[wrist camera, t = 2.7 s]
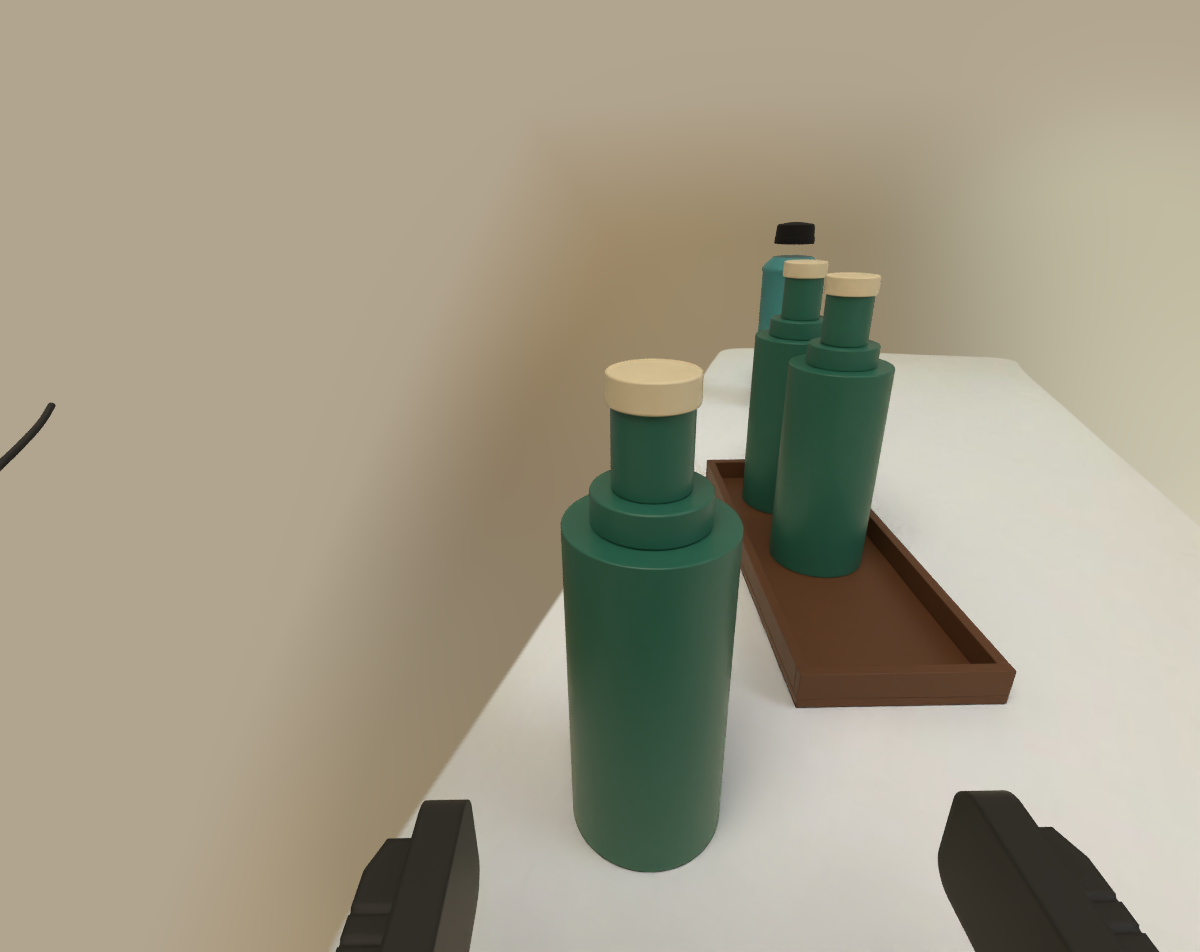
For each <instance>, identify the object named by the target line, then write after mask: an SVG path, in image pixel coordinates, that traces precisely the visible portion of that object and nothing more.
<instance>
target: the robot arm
mask: <svg viewBox="0 0 1200 952" xmlns="http://www.w3.org/2000/svg"><path fill="white" fill-rule="evenodd" d="M54 408H55V404H54V403H49V404H48V405H47V407H46V409H45V411H44V412H43V414H42V415H41V417H40V418H39V420H38V421H37V422H36V423H35V425H34V426H33V427H32V428H31V429H30V430H29V431H28V433H26V434H25V435H24V436H23V437H22V438H21V439H20V440H19V441H18V442H17V443H16V445H14V446H13V447H12V448H11V449H10V450H9V451H8V452H7V453H6V454H5V455H4V456H3V457H1V458H0V471H1V470H2V469H3V468H4V467H5V466H6V465H7V464H8V463H9V462H10V461H11V460H12V459H13V458H14V457H15V456H16V455H17V454H18V453H19V452H20V451H21V450H22V449H23V448H24V447H25V446H26V445H27V444H28V443H29V442H30V441H31V440H32V438H33V437H34V436H35V435H36V434H37V433H38V432H39V431H40V429H41V428H42V427H43V426H44V424H45V423H46V421H47V420H48V418H49V417H50V415H51V413H52V411H53V410H54ZM938 867H939V873H940V877H941V881H942V884H943V887H944V890H945V893H946V895H947V897H948V899H949V901H950V903H951V905H952V907H953V909H954V911H955V913H956V915H957V917H958V919H959V921H960V923H961V925H962V926H963V928H964V930H965V932H966V934H967V936H968V938H969V940H970V942H971V944H972V946H973V948H974V950H975V952H1159V951H1158V950H1157V948H1156V947H1155V946H1154V944H1153V943H1152V942H1151V940H1150V939H1149V938H1148V936H1147V935H1146V934H1145V933H1142V932H1141V931H1140V929H1139V924H1138V923H1137V922H1136V920H1135V919H1134V918H1133V916H1132V915H1131V914H1130V912H1129V911H1128V910H1127V908H1126V907H1125V906H1124V904H1123V903H1122V902H1119V901H1118V900H1117V899H1116V894H1115V892H1114V891H1113V890H1112V888H1111V887H1110V886H1109V884H1108V883H1107V882H1106V881H1105V879H1104V878H1103V877H1102V875H1101V874H1100V873H1099V871H1098V870H1097V869H1096V867H1095V866H1094V865H1093V863H1092V862H1091V861H1090V859H1089V858H1088V857H1087V856H1086V855H1084V854H1083V853H1082V852H1081V851H1080V850H1079V849H1077V848H1076V847H1075V846H1074V845H1073V844H1071V843H1070V842H1069V841H1068V840H1067V839H1066V838H1064V837H1063V836H1062V835H1061V834H1060V833H1058V832H1057V831H1056V830H1055V829H1054V828H1053V827H1038V826H1037V824H1036V823H1035V821H1034V820H1033V819H1032V817H1031V816H1030V814H1029V813H1028V812H1027V810H1026V809H1025V807H1024V806H1023V804H1022V803H1021V802H1020V801H1019V799H1018V798H1017V797H1016V796H1015V795H1013V794H1012V793H1011V792H1009V791H1005V790H999V791H960V792H958V793H956V795H955V796H954V799H953V802H952V806H951V809H950V813H949V816H948V820H947V823H946V827H945V830H944V834H943V837H942V841H941V844H940V848H939V852H938ZM479 872H480V869H479V855H478V848H477V841H476V834H475V827H474V819H473V812H472V806H471V802H470V800H426V801H424V802H423V803H422V805H421V807H420V810H419V813H418V817H417V820H416V824H415V827H414V830H413V834H412V837H411V838H396V839H387V840H386V841H385V843H384V844H383V846H382V847H381V848H380V849H379V851H378V852H377V854H376V855H375V856H374V858H373V859H372V860H371V861H370V863H369V864H368V866H367V867H366V868H365V870H364V871H363V874H362V877H361V880H360V883H359V886H358V889H357V892H356V894H355V897H354V900H353V903H352V906H351V913H350V915H348V918H347V920H346V923H345V926H344V929H343V932H342V935H341V938H340V945H339V947H337V949H336V952H469V949H470V943H471V937H472V931H473V925H474V919H475V913H476V907H477V900H478V891H479Z"/></svg>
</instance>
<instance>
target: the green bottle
mask: <svg viewBox="0 0 1200 952" xmlns="http://www.w3.org/2000/svg"><path fill="white" fill-rule="evenodd" d="M703 379H704V372H703V370H702V368H700V367H699V366H697V365H694V364H691V363H688V362H684V361H678V360H670V359H637V360H629V361H623V362H619V363H616V364H613V365H611V366H609V367H608V368H607V369H606V371H605V402H606V404H607V405H608V406H609V407H610V432H611V433H610V438H611V470H609V471H606V472H604V473H602V474H601V475H599V476H598V477H596V479H594V480H593V482H592V483H591V485H590V488H589V494H588V495H587V496H584V497H583V498H581V499H579V500H578V501H576V502H574V503H573V504H572V505H571V506H570V507H569V508H568V509H567V510H566V511H565V513H564V515H563V517H562V521H561V543H562V562H563V563H562V565H563V587H564V609H565V631H566V653H567V676H568V698H569V720H570V742H571V764H572V786H573V808H574V816H575V820H576V823H577V826H578V828H579V830H580V832H581V834H582V836H583V837H584V839H585V840H586V842H587V843H588V844H589V845H590V846H591V847H592V848H593V849H594V850H595V851H596V852H597V853H598V854H599V855H601V856H602V857H603V858H605V859H606V860H608V861H610V862H611V863H614V864H616V865H618V866H620V867H623V868H627V869H630V870H635V871H641V872H657V871H665V870H669V869H673V868H676V867H679V866H681V865H683V864H685V863H687V862H689V861H691V860H692V859H693V858H695V857H696V856H697V855H698V854H700V853H701V852H702V851H703V850H704V849H705V847H706V846H707V845H708V843H709V842H710V840H711V839H712V837H713V835H714V833H715V830H716V827H717V823H718V817H719V806H720V794H721V783H722V771H723V760H724V748H725V737H726V725H727V714H728V702H729V691H730V679H731V668H732V656H733V645H734V633H735V622H736V610H737V599H738V588H739V576H740V565H741V553H742V542H743V524H742V521H741V519H740V517H739V515H738V514H737V513H736V512H735V510H734V509H733V508H731V507H730V506H729V505H728V504H726V503H725V502H723V501H722V500H720V499H718V498H716V497H715V489H714V486H713V485H712V483H711V482H710V481H709V480H708V479H707V478H706V477H704V476H702V475H701V474H699V473H697V472H694V457H695V437H696V416H697V408H699V407H700V406H701V404H702V398H703Z"/></svg>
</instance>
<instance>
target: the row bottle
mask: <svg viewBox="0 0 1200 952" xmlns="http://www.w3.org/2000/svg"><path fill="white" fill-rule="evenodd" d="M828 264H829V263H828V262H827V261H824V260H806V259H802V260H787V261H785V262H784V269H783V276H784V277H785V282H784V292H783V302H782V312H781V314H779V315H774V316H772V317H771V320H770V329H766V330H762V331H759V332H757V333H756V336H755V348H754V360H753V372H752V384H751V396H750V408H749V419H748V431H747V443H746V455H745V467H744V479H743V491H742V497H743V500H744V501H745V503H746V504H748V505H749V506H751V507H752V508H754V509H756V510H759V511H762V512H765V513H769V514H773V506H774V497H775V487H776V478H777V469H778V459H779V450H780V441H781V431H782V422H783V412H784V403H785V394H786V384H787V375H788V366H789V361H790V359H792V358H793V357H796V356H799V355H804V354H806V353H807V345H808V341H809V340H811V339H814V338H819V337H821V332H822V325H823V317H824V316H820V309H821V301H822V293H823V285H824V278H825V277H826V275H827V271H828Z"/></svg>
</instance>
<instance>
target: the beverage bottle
mask: <svg viewBox="0 0 1200 952" xmlns="http://www.w3.org/2000/svg"><path fill="white" fill-rule="evenodd" d="M814 233H815V226H814V224H809V223H803V222H790V223H784V224H779V225H778V226H777V231H776V237H775V242H774V243H775V244H814V241H815V237H814ZM802 259H806V260H816V259H815V258H814V257H811V256H803V255H783V256H782V255H781V256H774V257H772V258H771V259H770V260H769V261H768V262H767V263H766V264H765V265H764V266H763V268H762V271H763V277H762V289H761V301H760V313H759V326H758V332H759V331H762V330H766V329H770V320H771V317H772V316H774V315H779V314H781V312H782V302H783V292H784V282H785V277H784V276H783V269H784V262H785V261H787V260H802Z"/></svg>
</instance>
